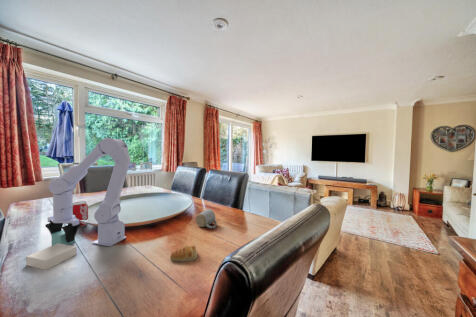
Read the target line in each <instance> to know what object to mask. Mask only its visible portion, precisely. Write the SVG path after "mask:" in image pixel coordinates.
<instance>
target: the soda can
mask: <svg viewBox="0 0 476 317" xmlns="http://www.w3.org/2000/svg"><path fill="white" fill-rule="evenodd" d="M73 215H75V218H76V219H79V223H81V225H80V227H79V228H84V227H86V225H87V224H86V223H84V222H82V221H80V220H87V219H88V220H89V205H88V203H87V201H84V200H83V201H75V202H73ZM79 228H78V229H79Z"/></svg>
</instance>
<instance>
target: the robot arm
mask: <svg viewBox="0 0 476 317" xmlns="http://www.w3.org/2000/svg"><path fill="white" fill-rule="evenodd" d="M105 156H109V157H110V158H111V159H112V160H113V161H114V166H113V169H112V172H111V176H110V179H109V182H108V185H107V189H106V192H105V196H104V198H103V200H102V201H101V202H100V204H99V206H98V208H97V209H96V210H95V212H94V214H93V218H94V220H95V221H96V222H97V239H95V240H94V241H92V243H91V244H93V245H101V246H104V247H105V246H107V247H113V246H114V245H116V244H117V243H120V242H121V241H123V240H125V239H126V238H127V236H125V235H126V234H125V230H126V229H125V228H126V226H125V223H124V221H121V220H120V219H119V214H120V212H121V209H122V207H121V202H122V200H121V199H120V198H121V193H122V191H123V188H124V184H125V181H126V177H127V174H128V171H129V167H130V164H131V156H130V153H129V146H128V145H127V144H126V142H125V141H124V140H123V139H119V138H118V139H117V138H112V137H105V138H103V139H102V140H101V141H100V142H98V143H96V145H95V147H94V148H93V149H92V150H91V151H89V153H88V154H87V155H86V157H85V158H83V159H82V161H80V163H79V164H73V165H70V166H68V167H67V171H65V172H64V173H63V174H61V175H59V178H58V179H54V180H52V181H50V183H49V184H48V189H49V190H48V191H49V192H50V193H52V212H53V213H52V216H48V217H47V223H45V225H44V226H45V227H46V229H47V230H48V231H49V233H50V236H51V237H52V234H53V233H56V232H59V231H62V230H64V232H65V235H66V241H67V243H69V242H72V241H74V238H75V239H76V234H77V233H78V230H79V227H80V225H81V223H79V219H76V218H75V215H73V203H74V202H73V194H74V193H73V192H74V191H75V189H76V187H77V184H78V183H79V182H80V181H82V179H84V177H85V176H87V174H88V173H89V172H88V169H89V168H90V167H92V166H93V165H94V164H96V162H98V161H99V160H100V159H101V158H103V157H105ZM64 224H65V225H64ZM63 225H64V226H63ZM80 228H81V227H80Z"/></svg>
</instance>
